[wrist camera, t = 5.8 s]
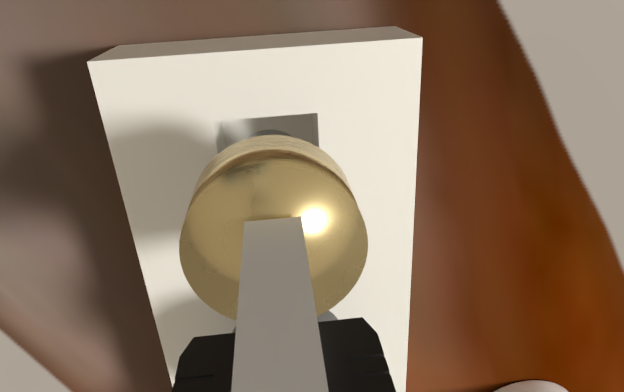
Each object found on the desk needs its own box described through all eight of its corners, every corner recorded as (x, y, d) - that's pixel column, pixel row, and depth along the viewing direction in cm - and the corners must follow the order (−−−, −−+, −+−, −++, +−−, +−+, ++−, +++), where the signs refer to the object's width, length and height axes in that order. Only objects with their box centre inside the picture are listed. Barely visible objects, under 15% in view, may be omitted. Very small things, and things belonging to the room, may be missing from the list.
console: (118, 45, 20) (86, 61, 16) (394, 25, 20) (422, 37, 17) (208, 435, 31) (201, 496, 27) (385, 413, 32) (401, 470, 28)
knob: (196, 104, 18) (161, 175, 11) (331, 94, 18) (367, 157, 12) (216, 223, 20) (196, 335, 14) (336, 212, 20) (368, 316, 14)
